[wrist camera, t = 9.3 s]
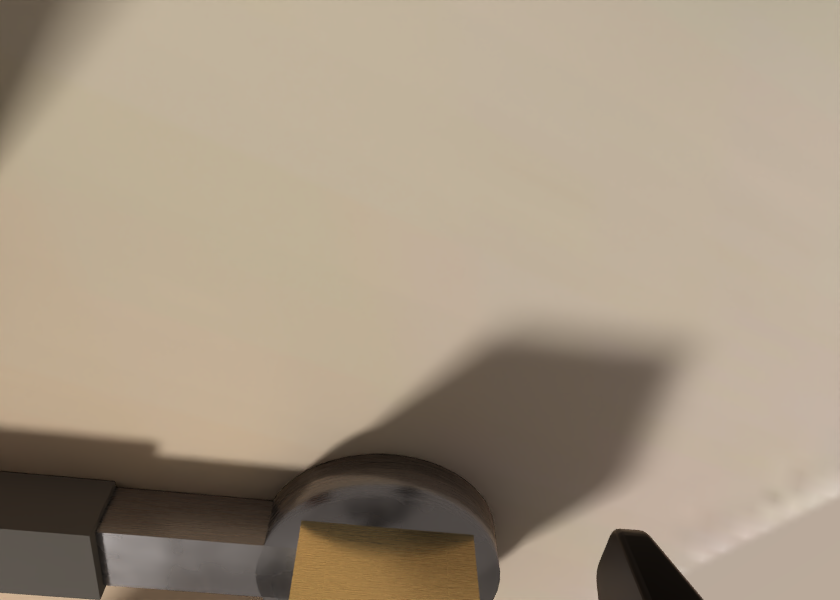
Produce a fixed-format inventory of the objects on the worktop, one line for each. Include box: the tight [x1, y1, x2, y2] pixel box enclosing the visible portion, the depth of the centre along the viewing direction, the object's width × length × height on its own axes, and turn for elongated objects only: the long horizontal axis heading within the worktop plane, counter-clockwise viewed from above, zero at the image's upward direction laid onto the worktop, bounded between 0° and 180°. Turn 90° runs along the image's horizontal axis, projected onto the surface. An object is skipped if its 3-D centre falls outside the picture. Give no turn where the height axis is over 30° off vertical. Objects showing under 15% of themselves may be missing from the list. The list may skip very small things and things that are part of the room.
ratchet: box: [0, 454, 500, 600], centre depth 24 cm, size 26×9×6 cm, turn 81°
